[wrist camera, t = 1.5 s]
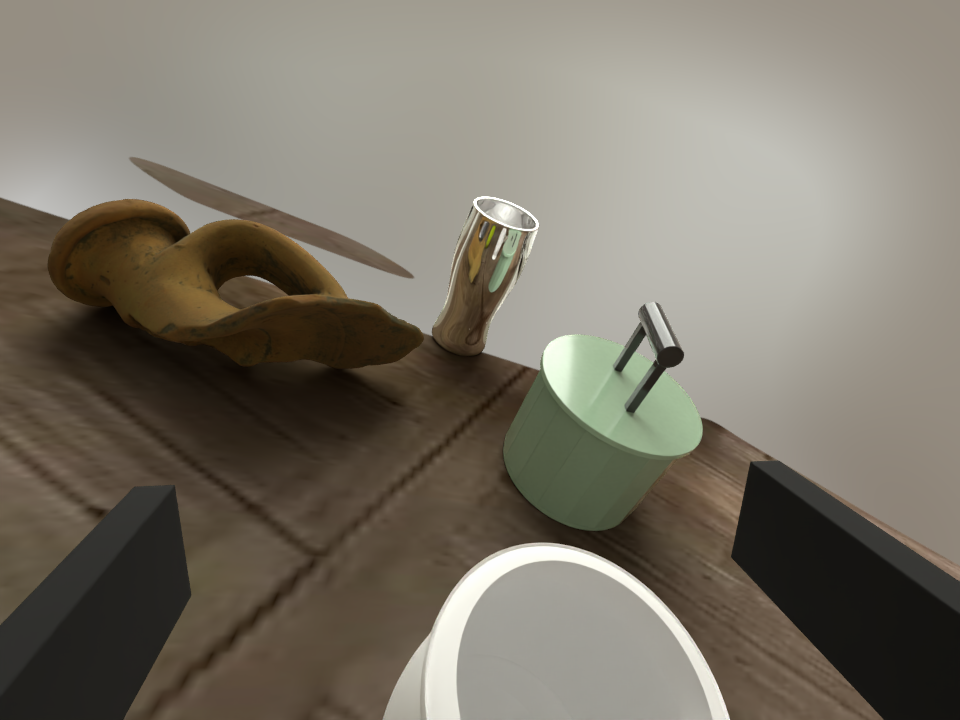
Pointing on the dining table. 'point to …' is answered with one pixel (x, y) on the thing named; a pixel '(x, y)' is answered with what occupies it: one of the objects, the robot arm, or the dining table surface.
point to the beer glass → (483, 272)
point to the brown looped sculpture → (200, 273)
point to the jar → (555, 647)
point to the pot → (574, 467)
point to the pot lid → (625, 389)
